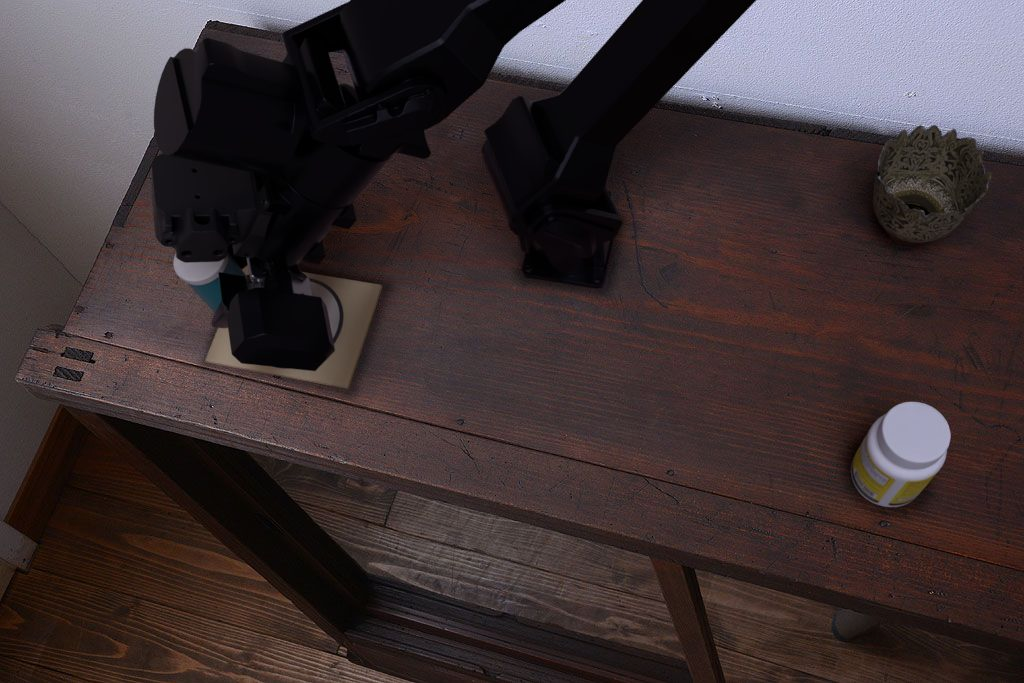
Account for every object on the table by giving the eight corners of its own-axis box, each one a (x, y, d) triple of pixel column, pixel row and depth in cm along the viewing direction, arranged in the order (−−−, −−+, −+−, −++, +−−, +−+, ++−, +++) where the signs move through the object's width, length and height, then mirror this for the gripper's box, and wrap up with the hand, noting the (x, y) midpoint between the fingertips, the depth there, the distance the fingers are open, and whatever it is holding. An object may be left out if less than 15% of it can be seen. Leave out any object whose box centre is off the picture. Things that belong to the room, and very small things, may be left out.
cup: (965, 269, 72) (1001, 209, 65) (863, 273, 73) (887, 214, 66) (948, 186, 76) (980, 120, 68) (850, 190, 76) (872, 126, 69)
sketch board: (383, 287, 77) (381, 283, 77) (349, 389, 74) (347, 386, 73) (246, 265, 80) (243, 261, 79) (206, 362, 76) (203, 359, 76)
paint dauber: (277, 309, 76) (212, 224, 65) (297, 342, 75) (233, 262, 64) (237, 333, 76) (165, 252, 65) (256, 367, 74) (185, 290, 63)
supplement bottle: (927, 453, 67) (964, 407, 59) (916, 517, 65) (952, 478, 57) (856, 434, 68) (883, 386, 60) (842, 497, 66) (869, 456, 58)
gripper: (175, 20, 59) (91, 176, 69) (208, 275, 50) (107, 412, 60) (336, 73, 66) (239, 208, 76) (389, 305, 58) (272, 423, 67)
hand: (215, 303), depth 70 cm, fingers closed on paint dauber, 3 cm apart
